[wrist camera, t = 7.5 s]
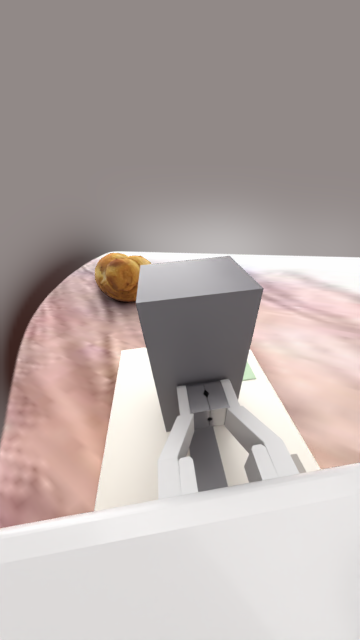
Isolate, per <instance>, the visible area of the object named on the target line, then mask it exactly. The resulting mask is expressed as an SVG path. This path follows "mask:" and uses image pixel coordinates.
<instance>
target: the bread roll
mask: <svg viewBox="0 0 360 640" xmlns="http://www.w3.org/2000/svg"><path fill="white" fill-rule="evenodd" d="M147 264H151V262H149V261H148V260H146V259H145V258H143V257H142V256H129V257H128V256H126V255H125V254H120V253H110V254H108V255H106V256H105V257H103V258H101V259H100V260H99V262H98V264H97V266H96V268H95V280H96V282H97V285H98V287H99V288H100V289H101V291H103V292H104V293H105V294H106V295H108V296H109V297H111V298H113V299H115V300H119V301H123V302H132V301H136V297H137V289H138V281H139V273H140V265H147Z"/></svg>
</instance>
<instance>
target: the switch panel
mask: <svg viewBox="0 0 360 640" xmlns="http://www.w3.org/2000/svg"><path fill="white" fill-rule="evenodd" d="M238 402H239V404H240V406H244V407H245V408H246V409H247V410H248V411H249V412H251V413H252V414H253V415H254V416H255V417H256V418H258V419H259V420H260V421H261V422H262V423H263V424H265V425H266V426H267V427H268V428H269V429H270V430H272V431H273V432H274V433H275V434H276V435H277V436H279V437H280V438H281V439H282V440H283V442H284V444H285V446H286V448H287V450H288V452H289V453H290V455H291V457H292V459H293V461H294V463H295V465H296V467H297V469H298V471H299V473H305V472H311V471H316V470H321V469H320V467H319V466H318V464H317V462H316V460H315V459H314V457H313V455H312V454H311V452H310V450H309V449H308V447H307V445H306V443H305V442H304V440H303V438H302V437H301V435H300V433H299V432H298V430H297V428H296V426H295V425H294V423H293V421H292V420H291V418H290V416H289V415H288V413H287V411H286V409H285V408H284V406H283V404H282V403H281V401H280V399H279V398H278V396H277V394H276V392H275V391H274V389H273V387H272V386H271V384H270V382H269V381H268V379H267V377H266V375H265V374H264V372H263V370H262V369H261V367H260V365H259V364H258V362H257V360H256V358H255V357H254V355H253V353H252V352H251V350H250V349H249V354H248V358H247V363H246V367H245V371H244V376H243V380H242V385H241V389H240V393H239V398H238ZM170 432H171V431H170ZM170 432H166V429H165V425H164V421H163V416H162V412H161V408H160V404H159V399H158V395H157V391H156V387H155V383H154V378H153V374H152V370H151V366H150V361H149V357H148V353H147V349H146V347H145V348H137V349H130V350H122V352H121V357H120V363H119V369H118V375H117V381H116V386H115V392H114V398H113V404H112V410H111V415H110V421H109V427H108V433H107V438H106V444H105V450H104V456H103V462H102V467H101V473H100V479H99V485H98V491H97V496H96V502H95V508H94V511H98V510H103V509H109V508H114V507H120V506H125V505H131V504H136V503H142V502H147V501H153V500H158V459H159V457H160V454H161V452H162V450H163V448H164V445H165V443H166V441H167V439H168V436H169V434H170ZM248 456H249V453H248V452H247V451H246V450H245V449H244V448H243V446H242V445H241V444H240V443H239V442H238V441H237V440H236V438H235V437H234V436H233V435H232V434H231V433H230V432H229V430H228V429H227V428H226V427H225V425H221V426H214V427H207V428H202V429H197V430H194V434H193V437H192V440H191V443H190V446H189V449H188V452H187V455H186V457H191V458H192V459H193V463H194V470H195V476H196V482H197V488H198V492H202V491H207V490H213V489H218V488H223V487H229V486H234V485H240V484H245V483H249V481H248V478H247V475H246V471H245V468H244V465H245V463H246V460H247V458H248Z"/></svg>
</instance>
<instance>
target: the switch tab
mask: <svg viewBox="0 0 360 640" xmlns="http://www.w3.org/2000/svg"><path fill="white" fill-rule="evenodd" d="M262 292H263V288H262V287H261V286H260V285H259V284H258V283H257V282H256V281H255V280H254V279H253V278H252V277H251V276H250V275H249V274H248V273H247V272H246V271H245V270H244V269H243V268H242V267H241V266H240V265H238V264H237V263H236V262H235V261H234V260H233V259H232V258H231V257H230V256H225V257H215V258H205V259H196V260H186V261H176V262H167V263H157V264H147V265H140V273H139V281H138V289H137V297H136V306H137V311H138V315H139V319H140V323H141V327H142V332H143V336H144V340H145V344H146V349H147V353H148V357H149V361H150V366H151V370H152V374H153V378H154V383H155V387H156V391H157V395H158V399H159V404H160V408H161V412H162V416H163V421H164V425H165V429H166V432H170V431H171V429H172V427H173V425H174V423H175V420H176V418H177V416H180V411H179V403H178V395H177V386H183V385H191V384H198V383H204V382H210V381H216V380H223V379H229V380H230V382H231V384H232V387H233V389H234V392H235V394H236V397H237V399H238V398H239V393H240V389H241V385H242V380H243V376H244V371H245V367H246V363H247V358H248V354H249V349H250V345H251V341H252V336H253V332H254V327H255V323H256V319H257V314H258V310H259V305H260V301H261V297H262Z"/></svg>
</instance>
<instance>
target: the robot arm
mask: <svg viewBox="0 0 360 640" xmlns="http://www.w3.org/2000/svg"><path fill="white" fill-rule="evenodd" d="M177 395H178V403H179V411H180V416H177V418H176V420H175V423H174V425H173V427H172V429H171V432H170V434H169V436H168V439H167V441H166V443H165V445H164V448H163V450H162V452H161V454H160V457H159V459H158V500H153V501H147V502H142V503H136V504H131V505H125V506H120V507H114V508H109V509H103V510H98V511H93V512H87V513H82V514H76V515H71V516H65V517H60V518H54V519H49V520H43V521H38V522H33V523H27V524H22V525H16V526H11V527H5V528H0V640H360V463H354V464H349V465H343V466H338V467H332V468H327V469H322V470H316V471H311V472H305V473H299V471H298V469H297V467H296V465H295V463H294V461H293V459H292V457H291V455H290V453H289V452H288V450H287V448H286V446H285V444H284V442H283V440H282V439H281V438H280V437H279V436H277V435H276V434H275V433H274V432H273V431H272V430H270V429H269V428H268V427H267V426H266V425H265V424H263V423H262V422H261V421H260V420H259V419H258V418H256V417H255V416H254V415H253V414H252V413H251V412H249V411H248V410H247V409H246V408H245V407H244V406H240V404H239V402H238V399H237V397H236V394H235V392H234V389H233V387H232V384H231V382H230V380H229V379H223V380H216V381H210V382H204V383H198V384H191V385H183V386H177ZM221 425H225V427H226V428H227V429H228V430H229V432H230V433H231V434H232V435H233V436H234V437H235V438H236V440H237V441H238V442H239V443H240V444H241V445H242V446H243V448H244V449H245V450H246V451H247V452H248V453H249V456H248V458H247V460H246V463H245V465H244V468H245V471H246V475H247V478H248V481H249V483H245V484H240V485H234V486H229V487H223V488H218V489H213V490H207V491H202V492H198V488H197V482H196V476H195V470H194V463H193V459H192V458H191V457H186V455H187V452H188V449H189V446H190V443H191V440H192V437H193V434H194V430H197V429H202V428H207V427H214V426H221Z"/></svg>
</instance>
